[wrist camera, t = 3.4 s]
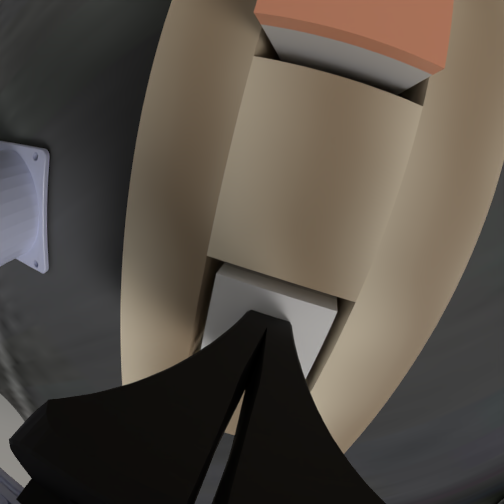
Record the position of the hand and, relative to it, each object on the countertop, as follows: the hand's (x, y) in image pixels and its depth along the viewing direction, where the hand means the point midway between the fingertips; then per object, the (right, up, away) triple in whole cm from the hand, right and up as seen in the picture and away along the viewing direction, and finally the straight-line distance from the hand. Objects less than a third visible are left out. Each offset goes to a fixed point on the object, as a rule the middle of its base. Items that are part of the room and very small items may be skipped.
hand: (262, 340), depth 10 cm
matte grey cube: (+1, +2, +4) cm, 5 cm away
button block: (+2, +6, +3) cm, 7 cm away
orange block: (+3, +10, -2) cm, 10 cm away
